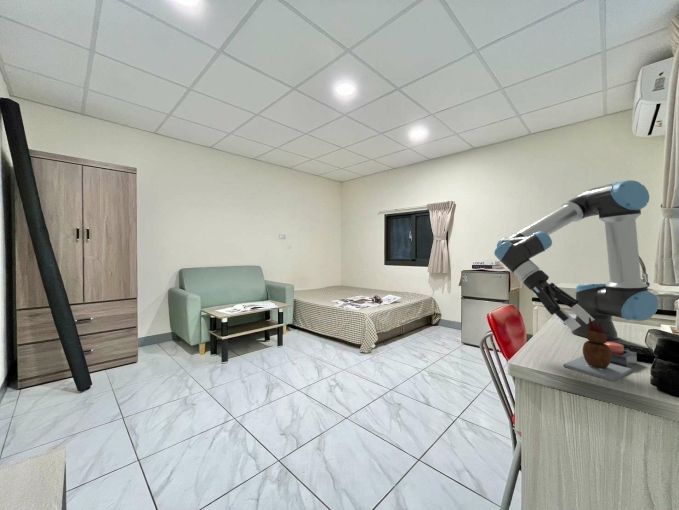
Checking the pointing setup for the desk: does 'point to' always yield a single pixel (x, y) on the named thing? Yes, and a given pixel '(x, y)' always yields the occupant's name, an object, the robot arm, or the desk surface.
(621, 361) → the button housing
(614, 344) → the button
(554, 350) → the desk surface
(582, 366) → the slate board
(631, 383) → the desk surface
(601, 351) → the wooden figurine
